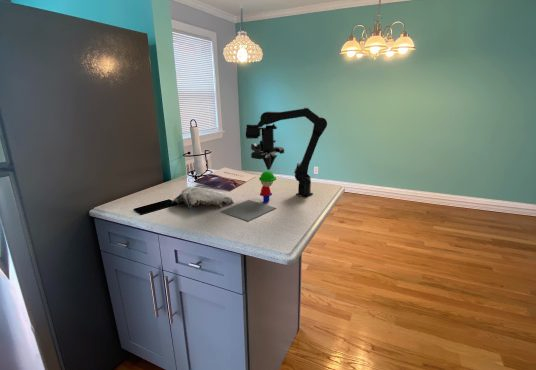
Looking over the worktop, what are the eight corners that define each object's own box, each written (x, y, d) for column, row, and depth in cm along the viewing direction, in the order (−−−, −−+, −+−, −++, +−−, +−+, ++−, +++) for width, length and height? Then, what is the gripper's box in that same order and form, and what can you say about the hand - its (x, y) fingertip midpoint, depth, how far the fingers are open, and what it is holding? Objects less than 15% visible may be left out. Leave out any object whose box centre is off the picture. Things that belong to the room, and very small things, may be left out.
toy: (274, 205, 138) (274, 173, 134) (258, 204, 140) (257, 173, 135) (277, 199, 145) (277, 169, 141) (261, 198, 147) (261, 168, 143)
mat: (248, 200, 145) (248, 199, 144) (276, 208, 134) (276, 207, 134) (220, 211, 131) (220, 211, 131) (248, 221, 121) (248, 220, 121)
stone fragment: (203, 191, 163) (202, 179, 161) (241, 202, 145) (240, 189, 143) (161, 202, 144) (159, 189, 142) (197, 217, 126) (196, 202, 124)
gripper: (267, 135, 157) (268, 164, 162) (242, 139, 144) (243, 171, 148) (284, 136, 150) (285, 166, 155) (259, 141, 137) (260, 174, 141)
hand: (268, 169), depth 150 cm, fingers closed
